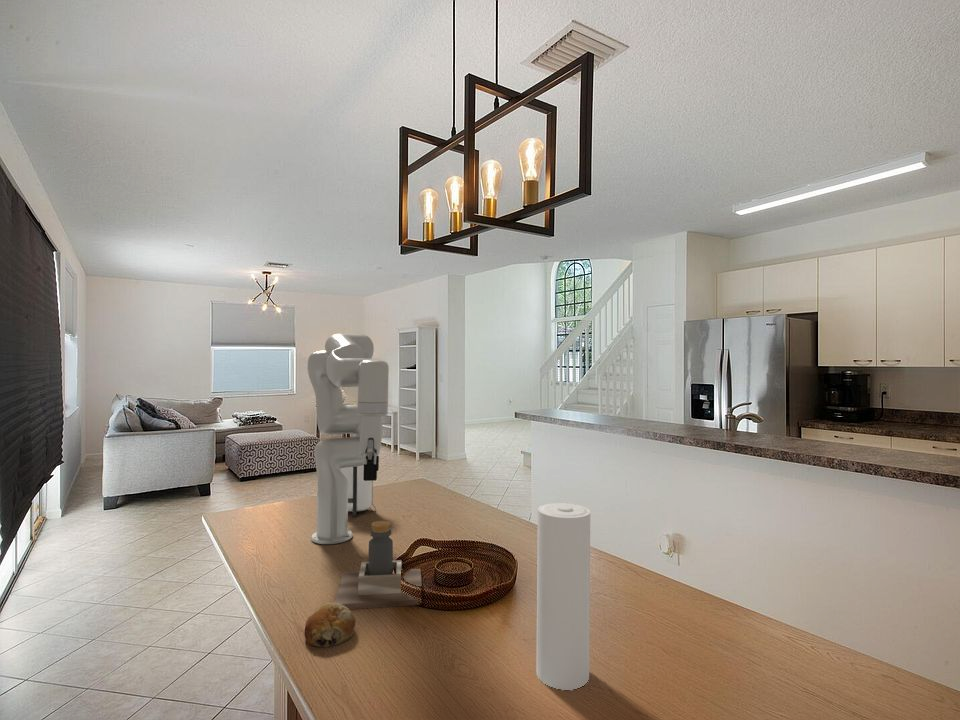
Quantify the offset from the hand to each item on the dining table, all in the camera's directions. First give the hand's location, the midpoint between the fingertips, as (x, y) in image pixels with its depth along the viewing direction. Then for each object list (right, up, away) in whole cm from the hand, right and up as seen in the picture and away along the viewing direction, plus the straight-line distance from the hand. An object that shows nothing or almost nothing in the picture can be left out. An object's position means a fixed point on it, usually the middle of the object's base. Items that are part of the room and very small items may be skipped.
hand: (371, 475), depth 131 cm
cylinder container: (+43, -27, -39) cm, 64 cm away
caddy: (+3, -27, -5) cm, 28 cm away
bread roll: (-3, -27, -26) cm, 38 cm away
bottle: (+3, -26, -4) cm, 27 cm away
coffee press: (-19, -28, +60) cm, 69 cm away
